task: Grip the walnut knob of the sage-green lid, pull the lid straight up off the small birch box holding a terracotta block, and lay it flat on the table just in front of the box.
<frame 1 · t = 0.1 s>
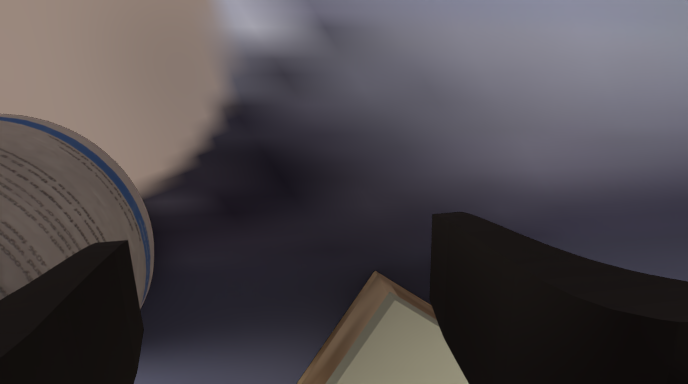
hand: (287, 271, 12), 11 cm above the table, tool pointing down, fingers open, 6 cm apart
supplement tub: (27, 243, 21), on the table, touching gripper
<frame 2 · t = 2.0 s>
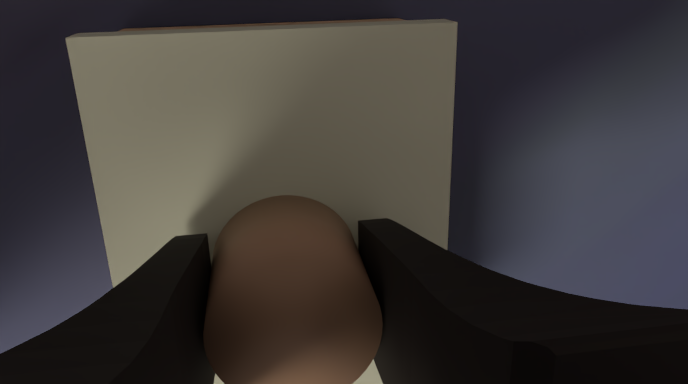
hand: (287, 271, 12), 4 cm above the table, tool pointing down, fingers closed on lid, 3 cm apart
lid: (282, 235, 13), point 2 cm above the table, touching box, gripper
box: (277, 196, 16), on the table
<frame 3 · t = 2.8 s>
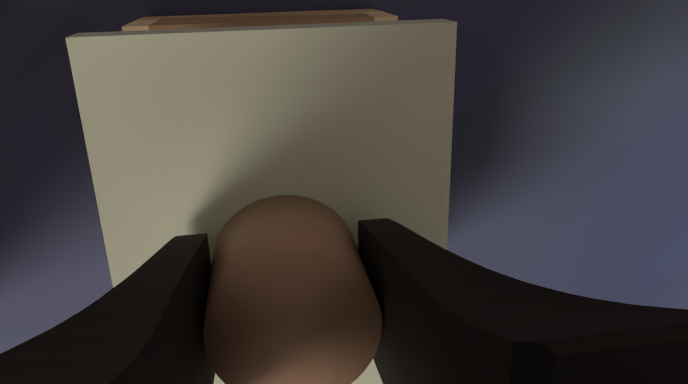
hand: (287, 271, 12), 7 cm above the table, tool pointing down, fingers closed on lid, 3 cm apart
lid: (282, 235, 13), point 5 cm above the table, touching gripper
box: (272, 161, 18), on the table
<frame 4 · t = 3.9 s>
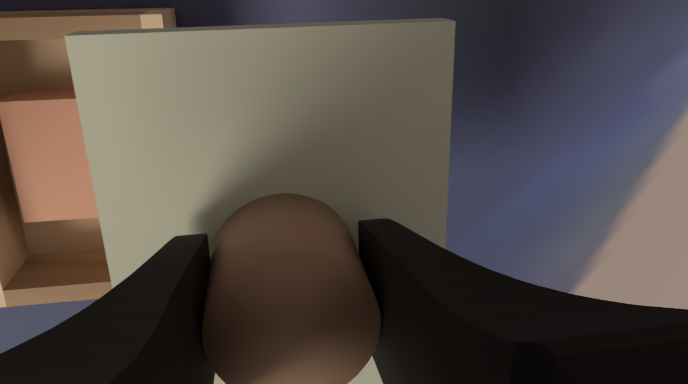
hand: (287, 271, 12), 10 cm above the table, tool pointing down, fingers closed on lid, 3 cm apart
lid: (280, 234, 13), point 9 cm above the table, touching gripper
box: (92, 143, 20), on the table
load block: (89, 147, 20), resting on box
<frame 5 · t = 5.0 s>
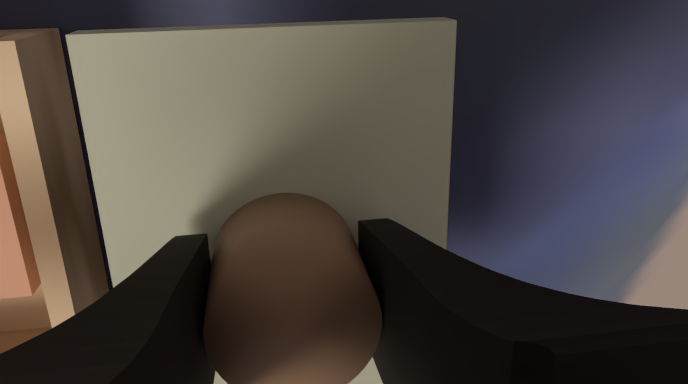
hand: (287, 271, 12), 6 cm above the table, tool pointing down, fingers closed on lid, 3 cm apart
lid: (281, 233, 13), point 4 cm above the table, touching gripper
when the fingers open (3 cm above the table, at t = 5.8 s): lid drops 2 cm, on the table.
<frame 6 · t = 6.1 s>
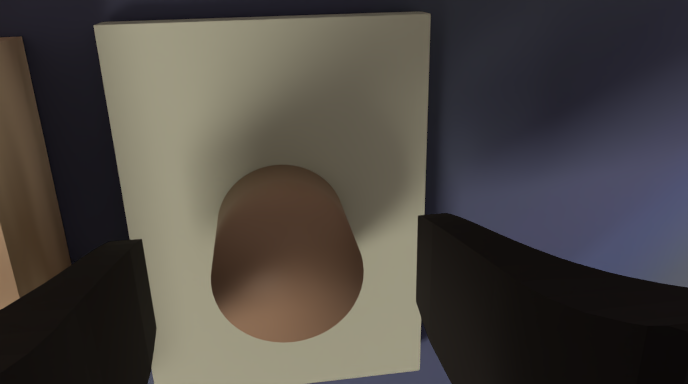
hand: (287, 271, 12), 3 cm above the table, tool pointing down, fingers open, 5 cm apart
lid: (279, 204, 15), on the table
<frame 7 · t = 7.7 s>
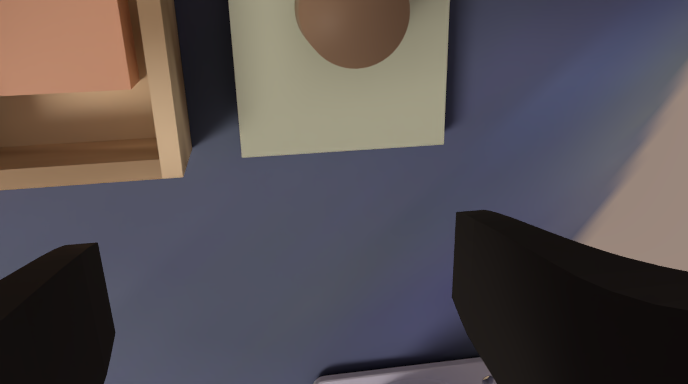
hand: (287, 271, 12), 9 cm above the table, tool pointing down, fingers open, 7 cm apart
lid: (336, 5, 19), on the table
box: (66, 16, 18), on the table
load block: (61, 17, 18), resting on box
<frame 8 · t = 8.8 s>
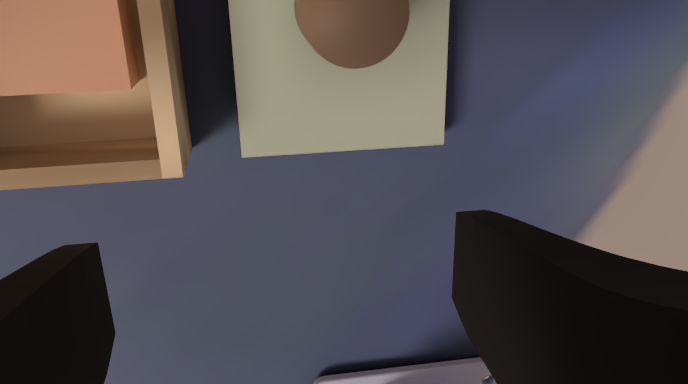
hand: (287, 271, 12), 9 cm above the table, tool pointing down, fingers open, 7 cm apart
lid: (336, 5, 19), on the table
box: (66, 16, 18), on the table
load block: (61, 17, 18), resting on box
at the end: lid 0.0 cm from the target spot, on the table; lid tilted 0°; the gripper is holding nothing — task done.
